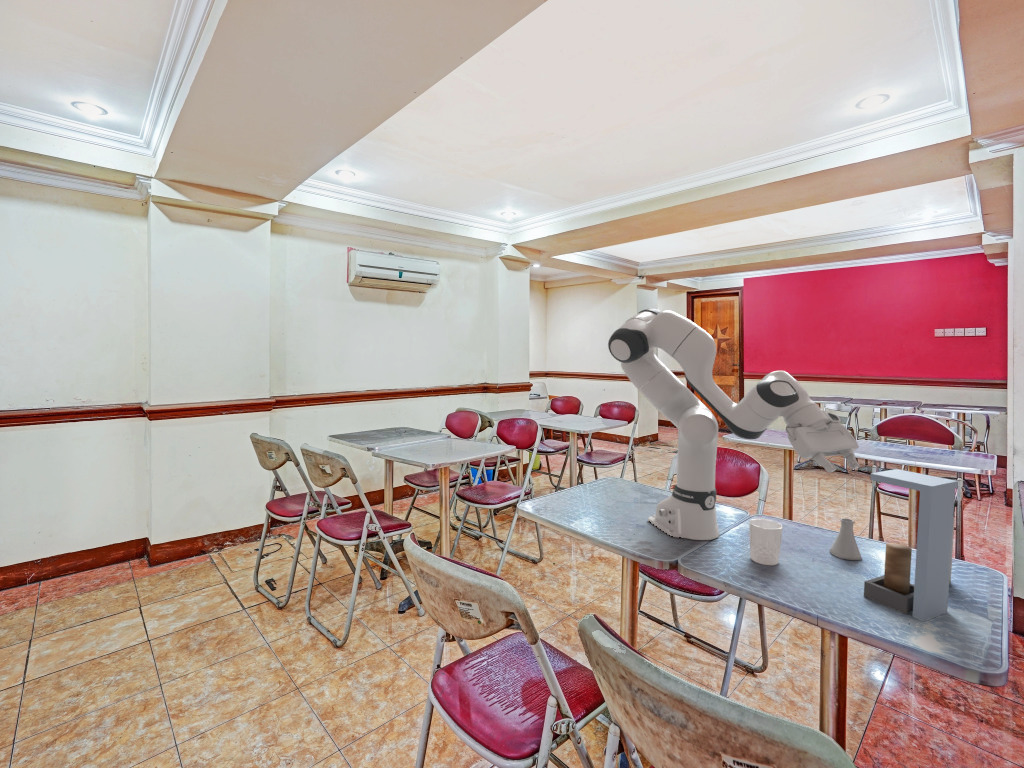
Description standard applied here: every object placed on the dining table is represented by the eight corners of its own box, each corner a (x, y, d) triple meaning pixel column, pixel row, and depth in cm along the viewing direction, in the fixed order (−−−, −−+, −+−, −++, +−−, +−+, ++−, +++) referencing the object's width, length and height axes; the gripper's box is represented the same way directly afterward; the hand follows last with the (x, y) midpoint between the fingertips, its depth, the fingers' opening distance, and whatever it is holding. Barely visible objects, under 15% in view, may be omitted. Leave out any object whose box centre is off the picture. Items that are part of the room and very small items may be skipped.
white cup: (743, 560, 130) (745, 524, 129) (753, 551, 136) (754, 516, 135) (776, 569, 125) (777, 531, 124) (784, 559, 131) (786, 523, 130)
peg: (878, 596, 110) (881, 544, 109) (890, 592, 112) (893, 541, 111) (901, 605, 106) (904, 552, 105) (913, 601, 108) (916, 548, 107)
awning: (864, 596, 111) (870, 473, 109) (890, 587, 115) (896, 468, 113) (923, 621, 101) (932, 486, 99) (949, 610, 105) (958, 481, 103)
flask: (851, 550, 137) (852, 515, 136) (867, 561, 130) (869, 525, 129) (824, 549, 137) (825, 515, 137) (839, 560, 130) (841, 524, 129)
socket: (863, 596, 111) (864, 581, 111) (885, 588, 115) (886, 574, 114) (906, 614, 104) (907, 598, 103) (928, 606, 107) (929, 590, 107)
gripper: (791, 417, 120) (828, 465, 112) (841, 415, 129) (879, 459, 121) (773, 432, 125) (807, 479, 117) (823, 429, 134) (858, 472, 125)
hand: (844, 469), depth 119 cm, fingers open, 8 cm apart
